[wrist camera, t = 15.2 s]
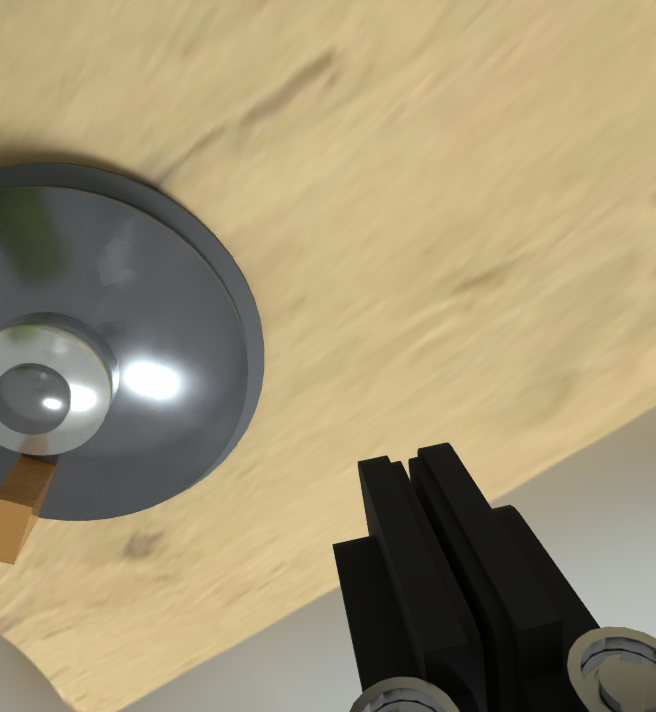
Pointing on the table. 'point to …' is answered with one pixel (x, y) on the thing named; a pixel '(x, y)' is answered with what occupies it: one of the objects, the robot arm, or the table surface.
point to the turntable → (120, 354)
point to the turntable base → (188, 228)
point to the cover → (53, 383)
